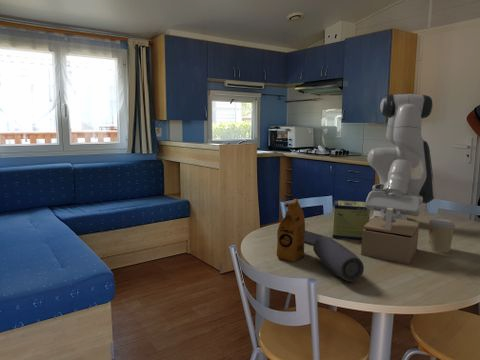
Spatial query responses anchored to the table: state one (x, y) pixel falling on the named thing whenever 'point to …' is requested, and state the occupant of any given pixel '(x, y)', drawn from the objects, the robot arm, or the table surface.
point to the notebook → (311, 238)
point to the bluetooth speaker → (338, 259)
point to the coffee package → (291, 233)
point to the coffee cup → (440, 235)
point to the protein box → (349, 219)
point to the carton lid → (392, 224)
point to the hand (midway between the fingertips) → (388, 220)
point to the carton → (389, 245)
